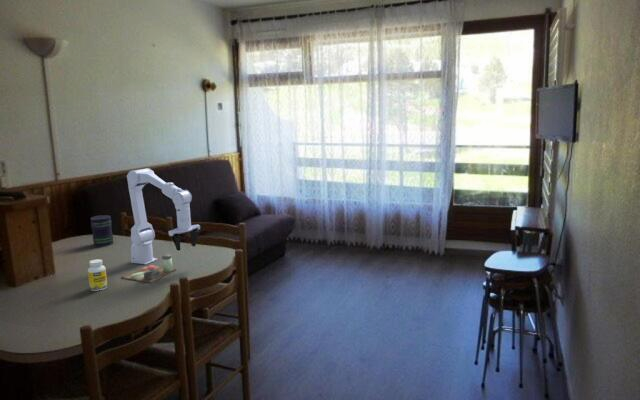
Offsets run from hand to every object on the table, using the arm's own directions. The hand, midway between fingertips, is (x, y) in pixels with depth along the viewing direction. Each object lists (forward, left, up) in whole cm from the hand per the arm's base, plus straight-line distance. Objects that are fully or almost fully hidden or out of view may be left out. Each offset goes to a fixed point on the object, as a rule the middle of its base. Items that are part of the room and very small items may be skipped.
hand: (186, 247), depth 208 cm
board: (-12, -11, -10) cm, 19 cm away
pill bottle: (-20, -31, -10) cm, 38 cm away
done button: (-7, -15, -7) cm, 18 cm away
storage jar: (-68, +17, -10) cm, 71 cm away
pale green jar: (-6, -6, -9) cm, 12 cm away
